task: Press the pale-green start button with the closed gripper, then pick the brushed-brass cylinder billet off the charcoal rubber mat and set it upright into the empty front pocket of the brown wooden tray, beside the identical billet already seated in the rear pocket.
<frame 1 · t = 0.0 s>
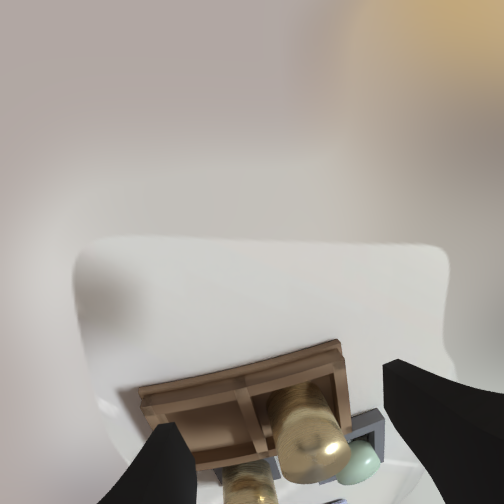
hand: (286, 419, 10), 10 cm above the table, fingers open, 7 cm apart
brown wooden tray: (250, 409, 21), on the table
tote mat: (245, 467, 22), on the table
brass round-topped piece: (294, 403, 21), point 1 cm above the table, touching brown wooden tray
billet: (246, 471, 22), resting on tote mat
start button: (355, 463, 20), point 2 cm above the table, slide at 0.0 cm
button housing: (345, 443, 23), on the table
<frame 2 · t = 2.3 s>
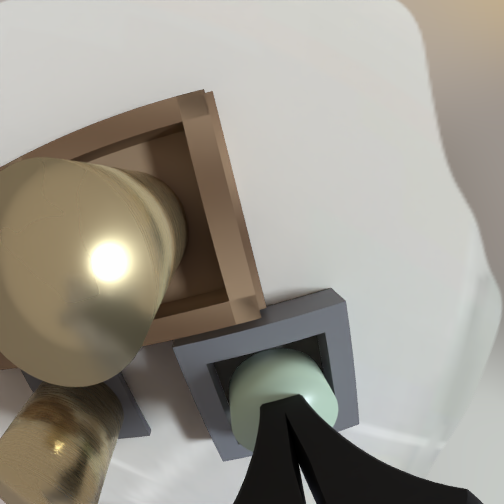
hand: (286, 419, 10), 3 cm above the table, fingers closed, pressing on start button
brown wooden tray: (62, 251, 11), on the table
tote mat: (84, 399, 12), on the table
brass round-topped piece: (129, 231, 10), point 1 cm above the table, touching brown wooden tray
billet: (81, 404, 12), resting on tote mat
start button: (281, 404, 11), point 2 cm above the table, slide at -0.5 cm, touching gripper
button housing: (272, 374, 13), on the table
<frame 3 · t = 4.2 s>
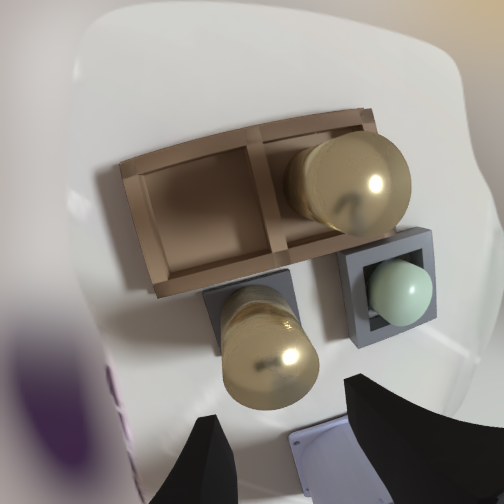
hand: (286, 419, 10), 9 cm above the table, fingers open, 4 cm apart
brown wooden tray: (262, 196, 17), on the table
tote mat: (254, 314, 19), on the table
brass round-topped piece: (319, 183, 17), point 1 cm above the table, touching brown wooden tray
billet: (255, 317, 18), resting on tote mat
start button: (399, 291, 18), point 2 cm above the table, slide at -0.7 cm
button housing: (385, 283, 19), on the table
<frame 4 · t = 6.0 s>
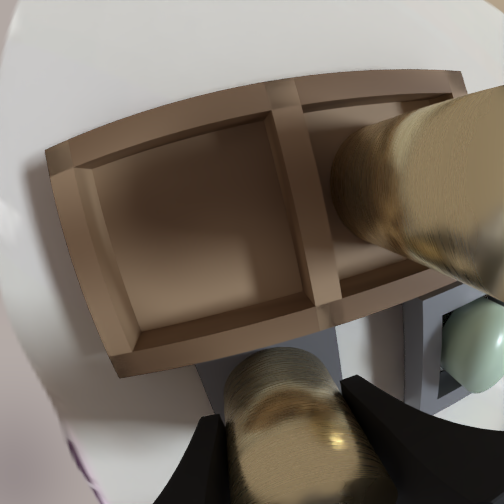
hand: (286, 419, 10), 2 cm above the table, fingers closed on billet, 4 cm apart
brown wooden tray: (293, 203, 10), on the table
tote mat: (276, 387, 12), on the table
brass round-topped piece: (385, 184, 10), point 1 cm above the table, touching brown wooden tray
billet: (277, 393, 11), resting on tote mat, touching gripper
start button: (481, 344, 10), point 2 cm above the table, slide at -0.7 cm
button housing: (457, 328, 12), on the table
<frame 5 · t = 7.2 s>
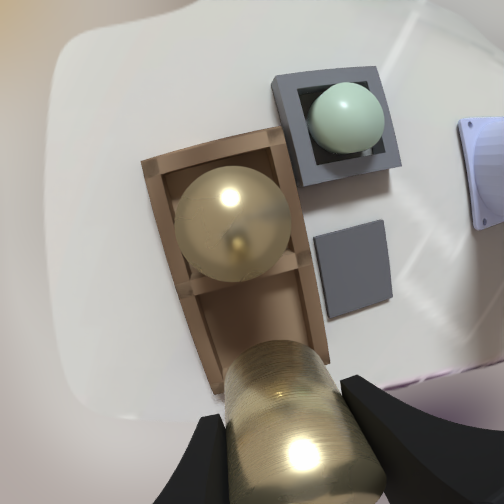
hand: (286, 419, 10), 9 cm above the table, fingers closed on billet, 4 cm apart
brown wooden tray: (241, 265, 18), on the table
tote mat: (354, 268, 19), on the table
brass round-topped piece: (227, 211, 17), point 1 cm above the table, touching brown wooden tray
billet: (276, 384, 12), point 7 cm above the table, touching gripper
start button: (345, 119, 15), point 2 cm above the table, slide at -0.7 cm
button housing: (334, 125, 17), on the table
when the fingers open (4 cm above the table, at t = 8.7 s): billet stays where it is, resting on brown wooden tray.
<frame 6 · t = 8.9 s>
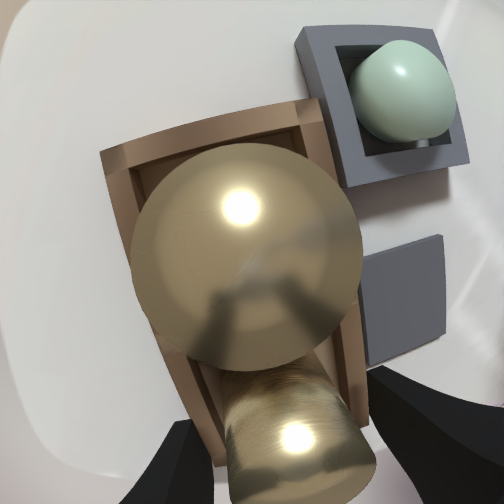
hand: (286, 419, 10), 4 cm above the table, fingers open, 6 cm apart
brown wooden tray: (252, 300, 12), on the table
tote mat: (404, 299, 13), on the table
brass round-topped piece: (233, 224, 11), point 1 cm above the table, touching brown wooden tray
billet: (271, 374, 13), point 1 cm above the table, touching brown wooden tray
start button: (403, 93, 10), point 2 cm above the table, slide at -0.7 cm
button housing: (381, 102, 11), on the table
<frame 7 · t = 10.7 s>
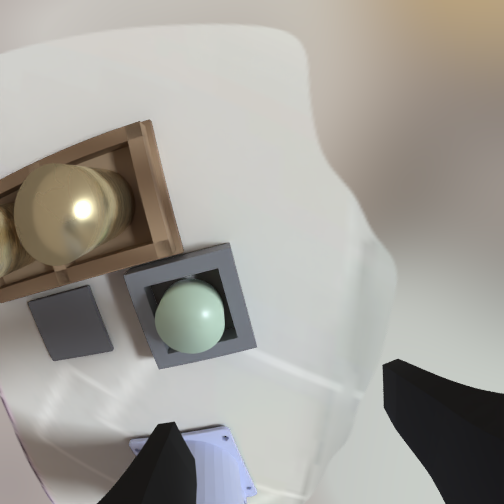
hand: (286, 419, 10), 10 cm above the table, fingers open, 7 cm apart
brown wooden tray: (61, 219, 17), on the table
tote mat: (70, 324, 18), on the table
brass round-topped piece: (101, 205, 16), point 1 cm above the table, touching brown wooden tray
billet: (19, 234, 16), point 1 cm above the table, touching brown wooden tray
start button: (190, 315, 17), point 2 cm above the table, slide at -0.7 cm
button housing: (192, 304, 19), on the table
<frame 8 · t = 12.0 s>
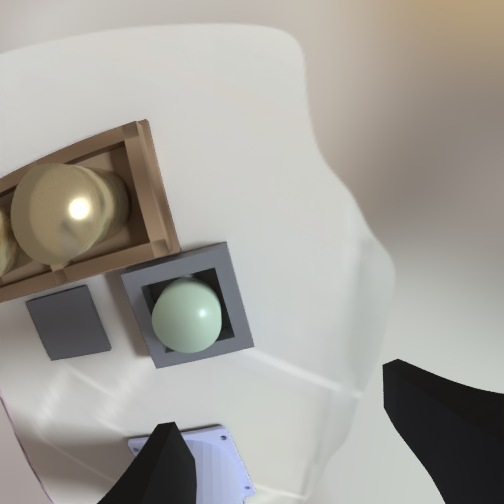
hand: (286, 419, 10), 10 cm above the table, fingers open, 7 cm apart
brown wooden tray: (59, 219, 17), on the table
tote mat: (67, 324, 18), on the table
brass round-topped piece: (98, 204, 16), point 1 cm above the table, touching brown wooden tray
billet: (17, 234, 16), point 1 cm above the table, touching brown wooden tray
start button: (187, 314, 17), point 2 cm above the table, slide at -0.7 cm
button housing: (190, 303, 19), on the table
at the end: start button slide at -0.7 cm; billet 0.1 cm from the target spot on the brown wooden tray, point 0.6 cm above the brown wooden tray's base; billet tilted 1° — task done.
